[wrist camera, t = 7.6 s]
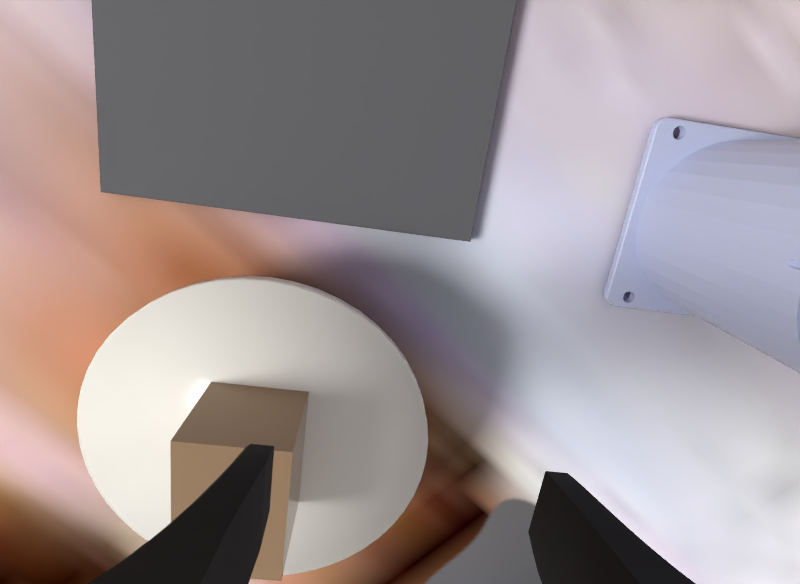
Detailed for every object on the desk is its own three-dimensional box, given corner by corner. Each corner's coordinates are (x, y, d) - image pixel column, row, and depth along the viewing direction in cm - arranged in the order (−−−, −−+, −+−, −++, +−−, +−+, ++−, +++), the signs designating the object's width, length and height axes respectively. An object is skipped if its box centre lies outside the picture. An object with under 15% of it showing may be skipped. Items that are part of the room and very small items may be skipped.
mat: (543, -158, 16) (548, -167, 16) (468, 239, 20) (470, 241, 20) (88, -255, 15) (78, -268, 14) (107, 190, 19) (100, 192, 19)
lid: (452, 299, 17) (475, 346, 13) (401, 574, 21) (407, 673, 17) (75, 253, 16) (-23, 290, 12) (96, 552, 20) (27, 653, 16)
